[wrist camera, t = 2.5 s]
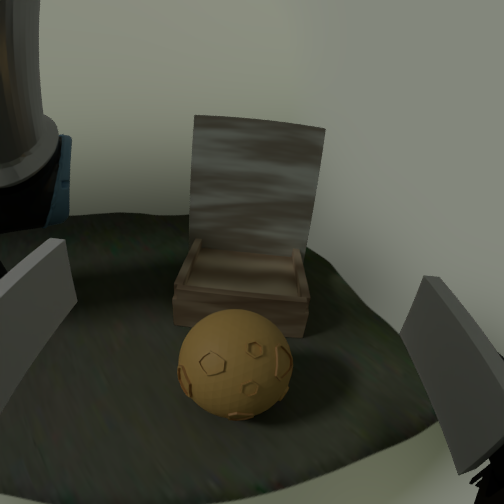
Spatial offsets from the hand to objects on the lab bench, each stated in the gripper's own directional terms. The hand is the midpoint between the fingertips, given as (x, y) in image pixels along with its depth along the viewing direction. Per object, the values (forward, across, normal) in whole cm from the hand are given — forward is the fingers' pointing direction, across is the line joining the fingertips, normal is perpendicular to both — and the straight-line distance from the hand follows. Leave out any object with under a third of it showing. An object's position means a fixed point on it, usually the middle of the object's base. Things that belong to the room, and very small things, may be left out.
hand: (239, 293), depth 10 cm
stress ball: (+10, 0, -20) cm, 22 cm away
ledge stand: (+27, 0, -19) cm, 33 cm away
